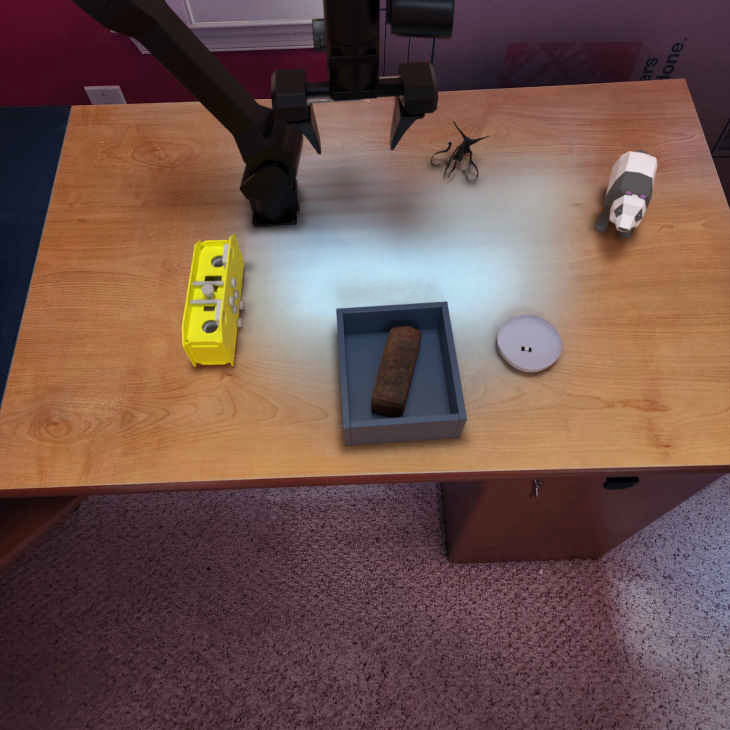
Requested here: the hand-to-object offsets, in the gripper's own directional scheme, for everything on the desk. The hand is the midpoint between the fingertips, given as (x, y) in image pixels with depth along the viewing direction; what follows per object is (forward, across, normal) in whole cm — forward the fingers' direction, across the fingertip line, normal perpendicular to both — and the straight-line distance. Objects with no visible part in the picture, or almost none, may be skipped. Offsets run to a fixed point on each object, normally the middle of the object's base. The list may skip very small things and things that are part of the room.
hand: (355, 149), depth 74 cm
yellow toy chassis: (+12, +19, +16) cm, 28 cm away
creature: (+10, -17, -10) cm, 22 cm away
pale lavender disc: (+12, -20, +24) cm, 33 cm away
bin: (+12, -3, +28) cm, 30 cm away
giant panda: (+12, -37, +4) cm, 39 cm away
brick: (+12, -3, +27) cm, 30 cm away
